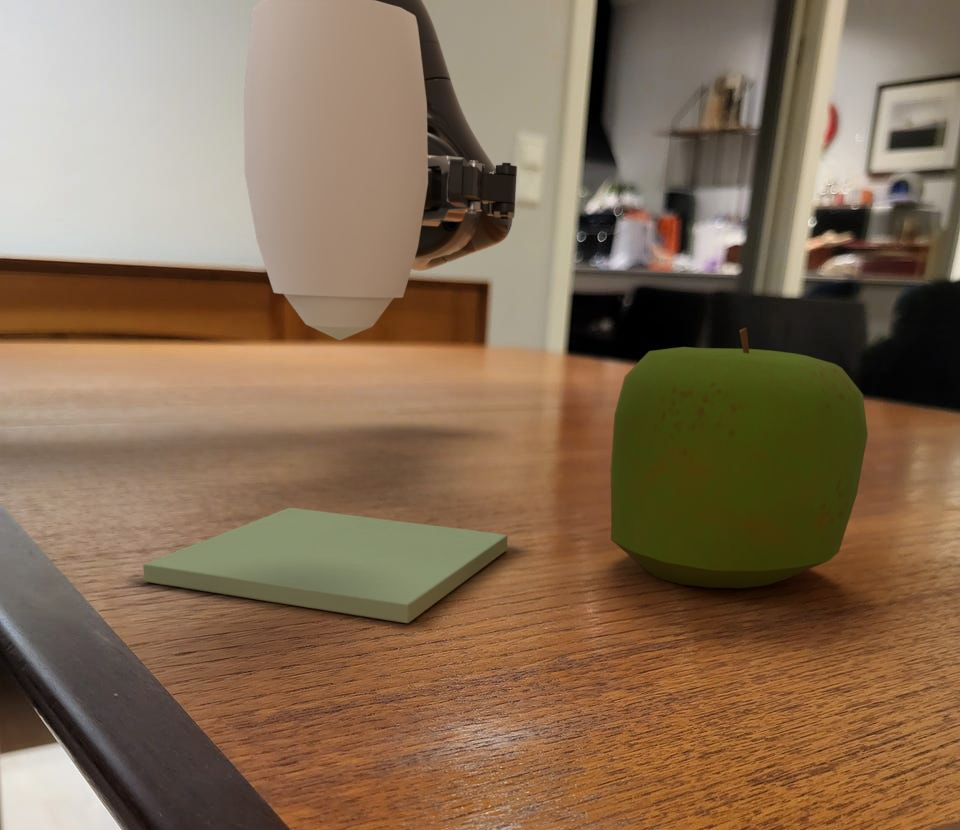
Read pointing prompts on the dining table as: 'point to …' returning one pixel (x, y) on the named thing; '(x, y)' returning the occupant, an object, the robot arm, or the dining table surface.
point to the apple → (734, 464)
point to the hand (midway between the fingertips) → (375, 176)
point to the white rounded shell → (336, 155)
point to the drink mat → (333, 563)
